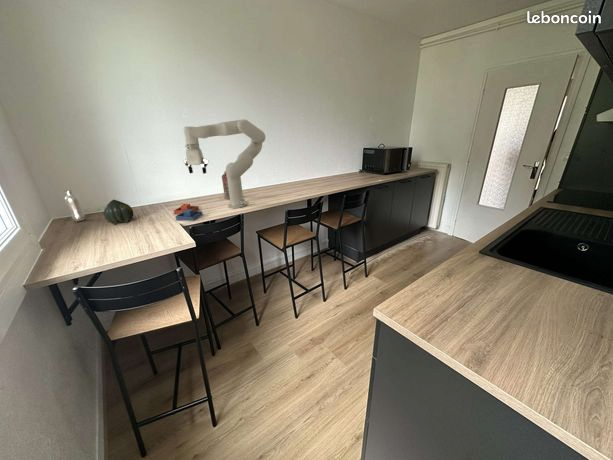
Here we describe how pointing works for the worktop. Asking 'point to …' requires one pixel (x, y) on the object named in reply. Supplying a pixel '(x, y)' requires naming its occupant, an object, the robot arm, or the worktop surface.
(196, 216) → the blue tray
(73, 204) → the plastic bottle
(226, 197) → the juice carton
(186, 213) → the blue block
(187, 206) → the terracotta block
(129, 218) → the squash
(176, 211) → the terracotta tray
